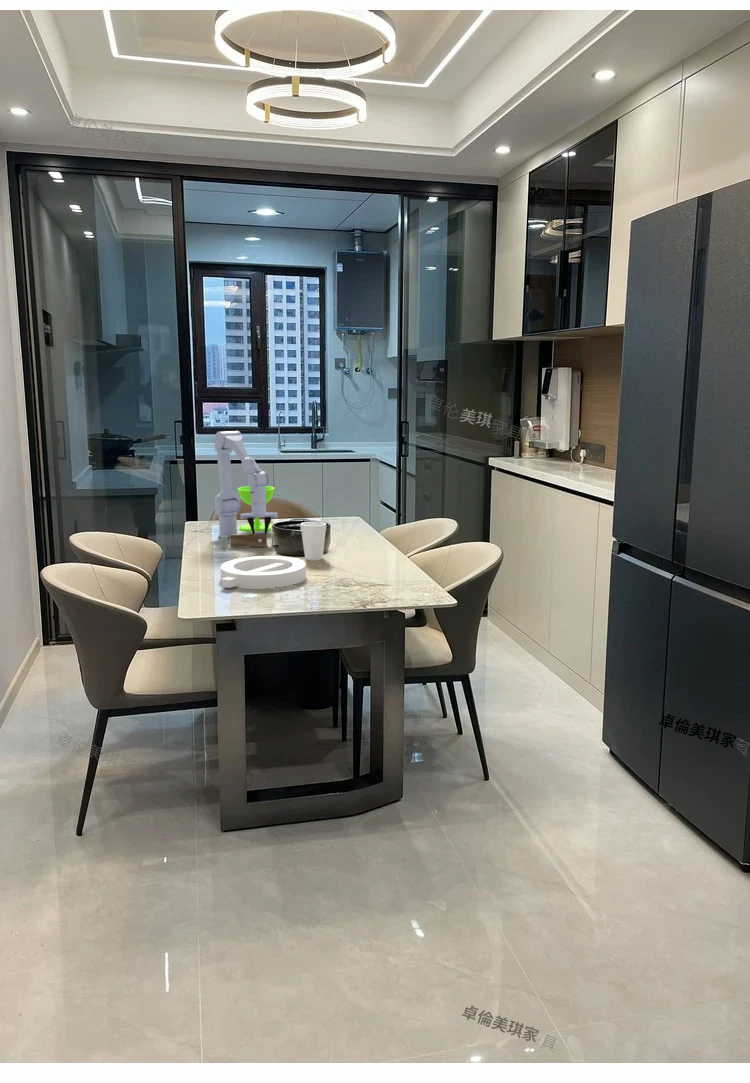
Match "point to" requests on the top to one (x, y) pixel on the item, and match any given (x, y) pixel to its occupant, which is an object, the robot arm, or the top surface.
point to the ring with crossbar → (262, 572)
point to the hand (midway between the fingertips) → (259, 536)
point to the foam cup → (313, 539)
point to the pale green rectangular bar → (224, 541)
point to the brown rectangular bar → (248, 540)
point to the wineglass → (246, 497)
